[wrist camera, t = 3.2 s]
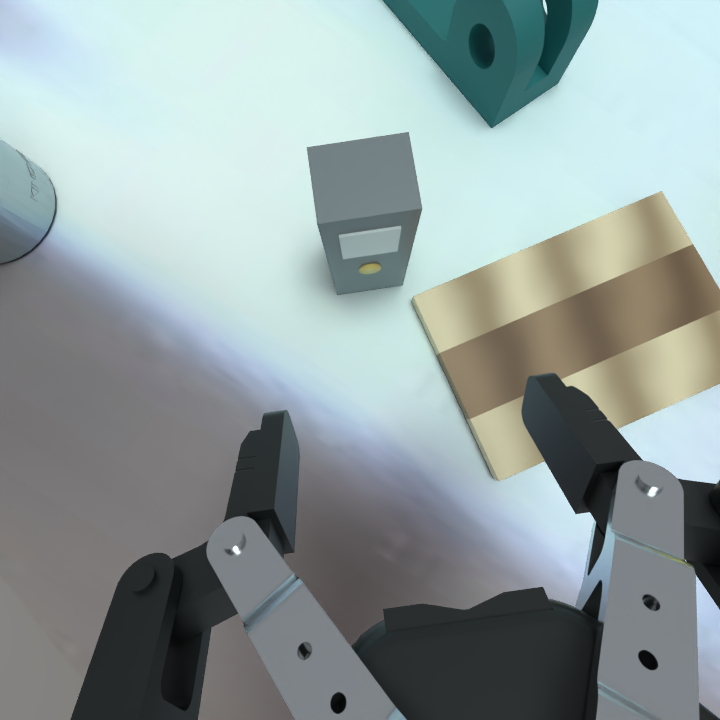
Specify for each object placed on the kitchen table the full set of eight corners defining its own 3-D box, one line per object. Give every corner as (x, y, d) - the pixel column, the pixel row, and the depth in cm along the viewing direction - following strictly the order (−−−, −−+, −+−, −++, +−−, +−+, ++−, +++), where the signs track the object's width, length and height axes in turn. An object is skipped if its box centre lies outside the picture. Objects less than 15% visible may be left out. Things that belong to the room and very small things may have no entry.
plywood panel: (493, 478, 27) (499, 481, 25) (411, 301, 29) (413, 296, 27) (746, 366, 27) (763, 364, 26) (649, 200, 29) (661, 191, 28)
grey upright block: (337, 296, 29) (317, 227, 18) (330, 245, 29) (306, 147, 18) (402, 287, 29) (422, 211, 18) (394, 235, 29) (408, 132, 18)
